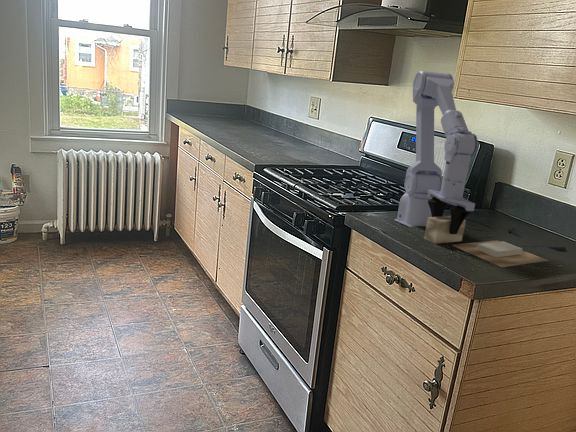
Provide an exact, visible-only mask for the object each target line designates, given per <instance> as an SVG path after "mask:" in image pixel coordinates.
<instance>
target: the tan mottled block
mask: <svg viewBox="0 0 576 432" xmlns="http://www.w3.org/2000/svg"><path fill="white" fill-rule="evenodd" d="M466 222H467V220H466V219H465V220H464V221H463V223H462V224H461V226H460V228H459V230H458V232H457V234H450V224H451V215H444V216H441V217H432V216H431V217H428V220H427V225H426V226H425V231H424V236H423V239H424V240H426V241H428V242H430V243H433V244H435V245H436V244H443V243H444V244H445V243H456V242H457V243H458V242H462V241H463V237H464V231H465V228H466V227H465V226H466Z"/></svg>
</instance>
